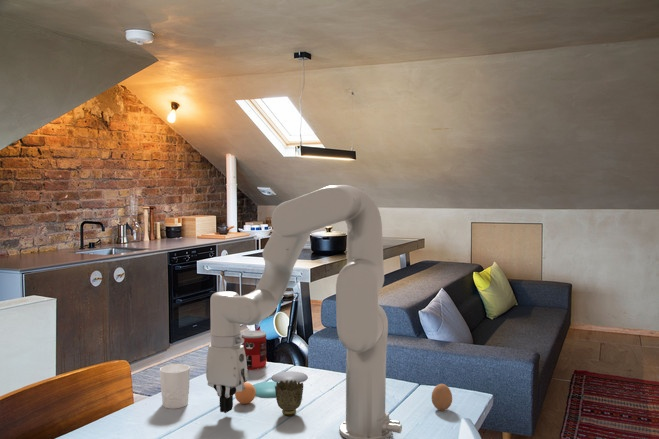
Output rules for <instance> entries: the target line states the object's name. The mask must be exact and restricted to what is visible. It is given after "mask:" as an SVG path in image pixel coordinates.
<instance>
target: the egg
mask: <svg viewBox="0 0 659 439" xmlns="http://www.w3.org/2000/svg"><path fill="white" fill-rule="evenodd" d="M431 402H432V404H433V406H434V408H435V409H437V410H438V411H442V412H443V411H447V410H448V409H449V408H450V407H451V405H452V403H453V394H452V391H451V389H450V388H449V386H448V385H446V384H445V383H439V384H437V385H435V387H434V388H433V390H432V392H431Z"/></svg>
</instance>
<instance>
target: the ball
mask: <svg viewBox="0 0 659 439" xmlns="http://www.w3.org/2000/svg"><path fill="white" fill-rule="evenodd" d="M244 385H245V390H243V391H240V392H236V393H235V394H234V397H235V399H236V401H237V402H238V403H240V404H242V405H246V404H247V405H248V404H250V403H252V402H253V401H254V399H255V397H256V396H255V395H256V391H255V388H254V386H253V385H254V384H251V383H250V382H245V383H244Z"/></svg>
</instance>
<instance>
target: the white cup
mask: <svg viewBox="0 0 659 439" xmlns="http://www.w3.org/2000/svg"><path fill="white" fill-rule="evenodd" d="M190 370H191V366H190V365H188V364H185V363H171V364H167V365H164V366H161V367H160V368H159V380H160V392H161V400H162V404H161V405H162V406H163V407H164V408H165V409H169V410H170V409H180V408H185V407H186V406H187V405H189V393H190V379H191V378H190V377H191V375H190V374H191V371H190Z"/></svg>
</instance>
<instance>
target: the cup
mask: <svg viewBox="0 0 659 439" xmlns="http://www.w3.org/2000/svg"><path fill="white" fill-rule="evenodd" d="M303 382H304V381H303ZM303 382H300V381H299V382H298V383H297V382H296V381H295V380H294V382H293V381H292V380H291V381H290V382H289V383H288V380H286V382H285V383H284V382H283V381H280V382H279V383H278V382H277V383H276V386H275V392H276V397H275V399H276V403H277V405H278V407H279V409H281V412H282V415H283V416H285V417H293V416H295V415H296V414H297V409H298V408H299V407H300V406H301V403H302V401H303V394H304V393H303V392H304V387H305V386H304V383H303Z"/></svg>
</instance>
